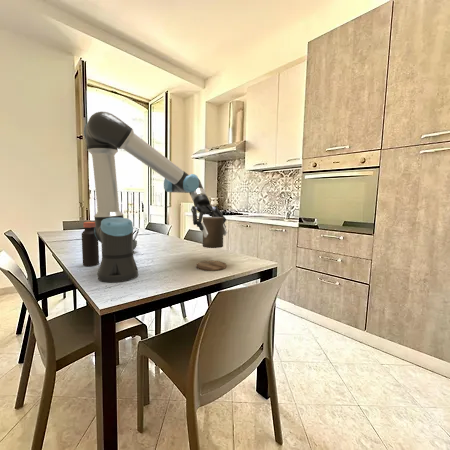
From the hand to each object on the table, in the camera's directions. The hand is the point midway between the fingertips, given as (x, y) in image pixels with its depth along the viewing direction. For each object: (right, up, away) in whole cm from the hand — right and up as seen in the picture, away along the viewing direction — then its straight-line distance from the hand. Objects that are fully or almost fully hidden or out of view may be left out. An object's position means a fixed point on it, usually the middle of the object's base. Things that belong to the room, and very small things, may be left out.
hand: (216, 234), depth 118 cm
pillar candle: (-2, -6, +3) cm, 7 cm away
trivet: (-3, -15, +4) cm, 16 cm away
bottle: (-59, -14, +4) cm, 61 cm away
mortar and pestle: (-52, -12, +30) cm, 61 cm away
